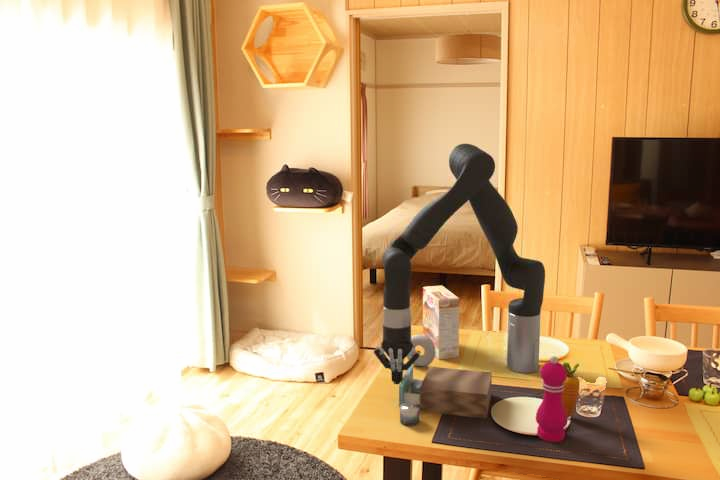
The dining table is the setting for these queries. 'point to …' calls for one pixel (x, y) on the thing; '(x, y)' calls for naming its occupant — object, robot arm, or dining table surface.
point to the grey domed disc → (416, 387)
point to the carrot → (570, 389)
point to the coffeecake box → (441, 320)
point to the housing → (456, 392)
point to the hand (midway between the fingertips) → (397, 382)
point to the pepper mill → (552, 402)
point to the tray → (408, 388)
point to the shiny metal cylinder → (409, 414)
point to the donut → (428, 348)
